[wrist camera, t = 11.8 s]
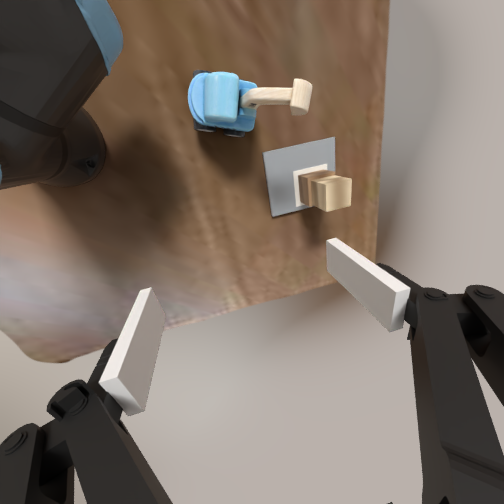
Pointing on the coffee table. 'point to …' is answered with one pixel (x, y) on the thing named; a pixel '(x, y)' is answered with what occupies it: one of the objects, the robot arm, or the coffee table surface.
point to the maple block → (331, 192)
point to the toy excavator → (238, 101)
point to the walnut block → (306, 184)
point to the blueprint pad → (294, 171)
